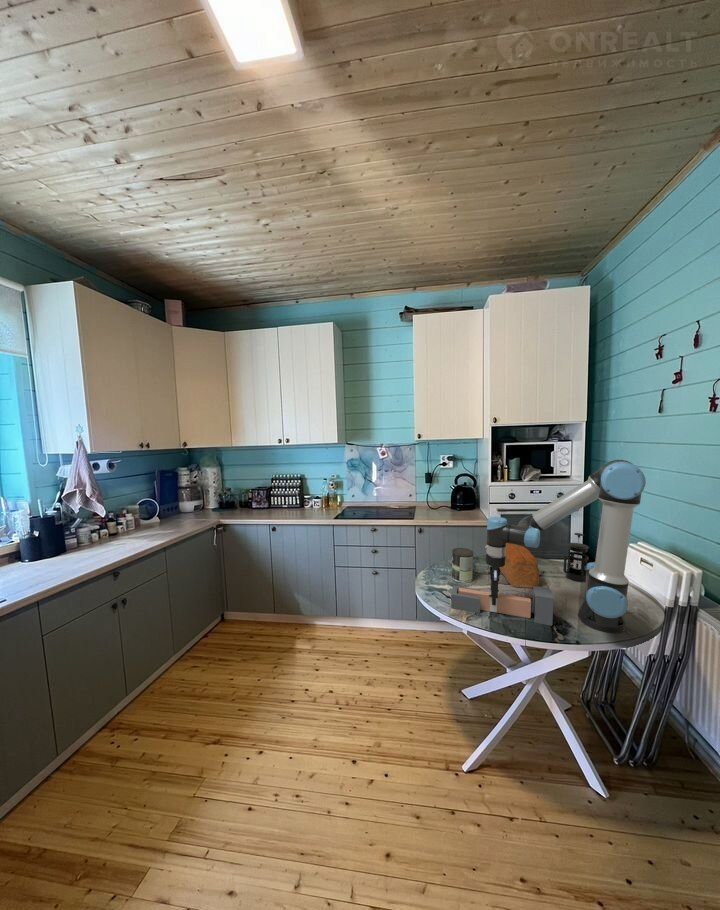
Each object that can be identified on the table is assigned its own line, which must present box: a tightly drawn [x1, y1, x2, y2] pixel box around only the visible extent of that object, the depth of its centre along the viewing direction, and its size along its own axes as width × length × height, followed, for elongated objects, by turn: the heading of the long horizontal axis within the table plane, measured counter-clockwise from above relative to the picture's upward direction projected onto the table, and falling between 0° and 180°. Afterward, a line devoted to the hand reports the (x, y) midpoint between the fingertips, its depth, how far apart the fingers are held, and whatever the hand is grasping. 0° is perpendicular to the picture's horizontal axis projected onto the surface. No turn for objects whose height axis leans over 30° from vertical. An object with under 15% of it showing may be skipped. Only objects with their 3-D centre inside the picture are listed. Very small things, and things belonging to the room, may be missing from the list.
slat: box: [458, 588, 532, 619], centre depth 147 cm, size 28×3×7 cm, turn 70°
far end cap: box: [450, 585, 482, 614], centre depth 150 cm, size 12×9×6 cm
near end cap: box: [531, 585, 555, 627], centre depth 140 cm, size 6×9×11 cm, turn 160°
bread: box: [499, 543, 540, 589], centre depth 179 cm, size 14×27×15 cm, turn 174°
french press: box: [562, 532, 590, 583], centre depth 177 cm, size 12×9×23 cm
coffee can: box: [451, 547, 474, 584], centre depth 176 cm, size 10×10×14 cm
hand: (493, 609), depth 147 cm, fingers closed on slat, 3 cm apart
